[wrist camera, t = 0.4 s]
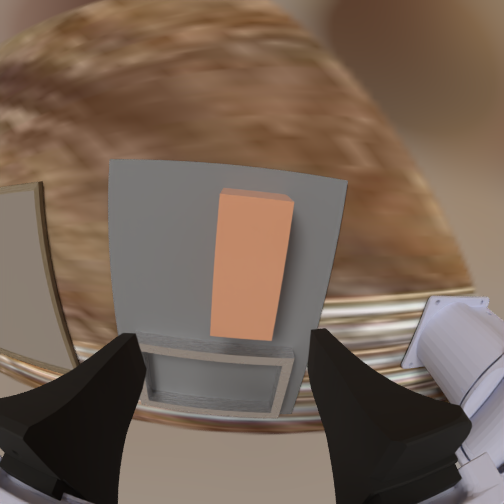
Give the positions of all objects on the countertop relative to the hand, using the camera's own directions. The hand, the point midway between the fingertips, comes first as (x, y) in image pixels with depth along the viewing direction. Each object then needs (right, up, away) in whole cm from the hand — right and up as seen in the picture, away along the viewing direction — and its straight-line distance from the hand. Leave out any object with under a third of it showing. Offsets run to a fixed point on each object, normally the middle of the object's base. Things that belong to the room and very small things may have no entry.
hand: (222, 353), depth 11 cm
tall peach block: (+1, +4, +8) cm, 9 cm away
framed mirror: (-30, +1, +9) cm, 31 cm away
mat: (-2, -1, +10) cm, 10 cm away
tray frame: (-2, -6, +12) cm, 14 cm away
